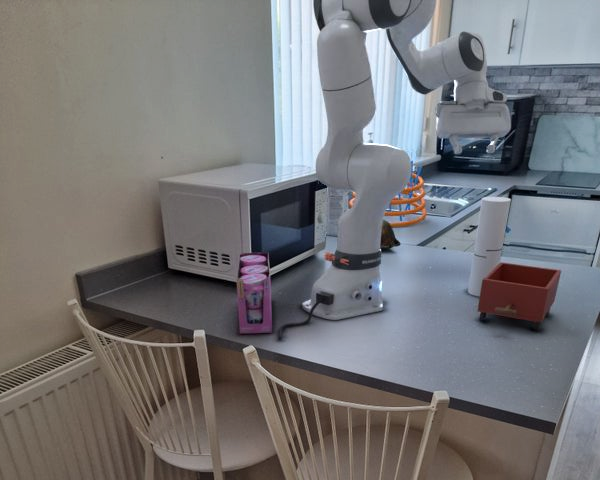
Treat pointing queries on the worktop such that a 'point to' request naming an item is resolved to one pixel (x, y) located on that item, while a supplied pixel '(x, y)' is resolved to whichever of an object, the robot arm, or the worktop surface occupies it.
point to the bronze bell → (388, 236)
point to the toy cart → (519, 292)
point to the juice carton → (335, 209)
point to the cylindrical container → (488, 240)
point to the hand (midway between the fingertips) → (474, 152)
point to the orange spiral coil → (407, 201)
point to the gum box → (254, 293)
